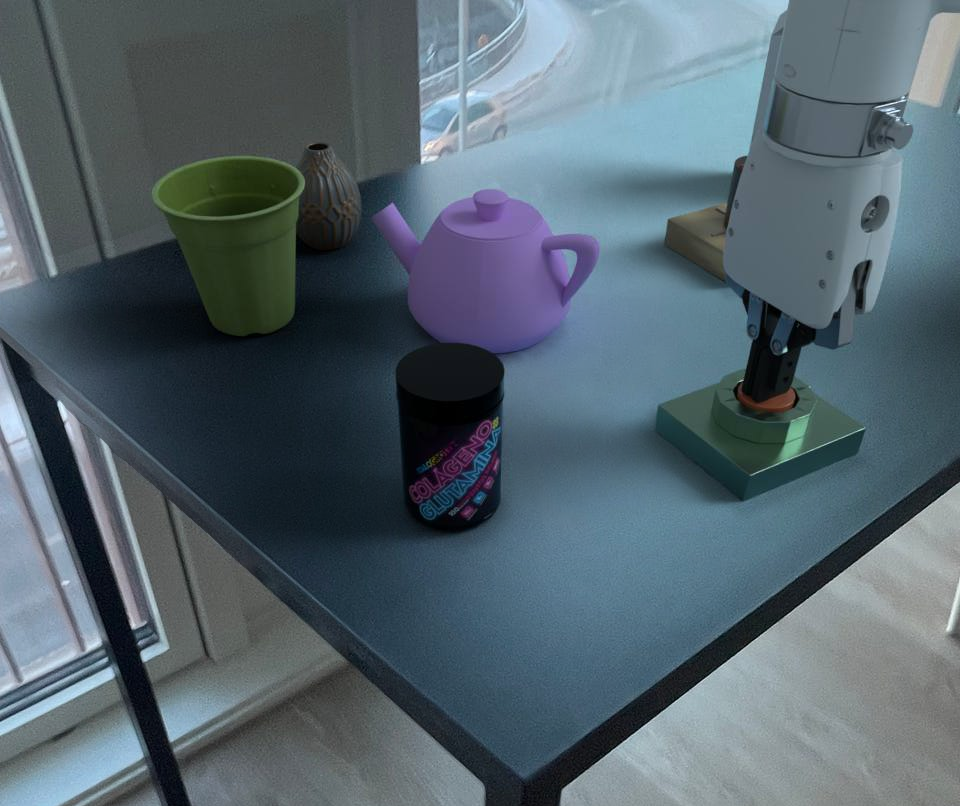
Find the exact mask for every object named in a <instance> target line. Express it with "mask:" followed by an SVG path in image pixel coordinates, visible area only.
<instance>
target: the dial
mask: <svg viewBox="0 0 960 806" xmlns="http://www.w3.org/2000/svg"><path fill="white" fill-rule="evenodd" d="M747 156H748V154H747V155H742V156H740V157H738V158H737V159H735V161H734V163H733V170H732V175H731V179H730V180H731V181H730V185H729V191H728V192H729V193H728V196H727V202H726V203H727V207H726V213H725V218H724V225H725V227H726V228H727V227H728V223H729V218H730V214H731V210H732V206H733V202H734V198H735V194H736V191H737V187H738V184H739V180H740V177H741V174H742V171H743V167H744V164H745V161H746V159H747Z"/></svg>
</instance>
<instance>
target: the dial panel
mask: <svg viewBox="0 0 960 806" xmlns="http://www.w3.org/2000/svg"><path fill="white" fill-rule="evenodd" d="M726 207H727V202H723V203H720V204H716V205H713V206H709V207H705V208H702V209H698V210H694V211H692V212H688V213H684V214H680V215H676V216H674V217H670V218H667V222H666V230H665V237H664V242H663V243H664V245H665V246H666V247H667V248H670V249H671V250H673V251H674V252H676V253H677V254H679V255H681V256H683V257H684V258H686V259H687V260H689V261H690V262H692V263H693V264H695V265H697V266H699V267H700V268H702V269H703V270H705V271H707V272H708V273H710V274H712V275H713V276H715V277H716V278H717V279H720V280H721V281H723V282H724V283H726V274H727V273H726V271H725V269H724V267H723V252H724V244H725V238H726V232H727V228H726V227H725V225H724V218H725V213H726Z"/></svg>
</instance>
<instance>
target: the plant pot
mask: <svg viewBox="0 0 960 806" xmlns="http://www.w3.org/2000/svg"><path fill="white" fill-rule="evenodd" d="M295 167H296V166H293V165H291V164H290V163H287V162H286V161H285V162H284V161H281V160H278V159H275V158H271V157H265V156H255V155H231V156H221V157H213V158H208V159H202V160H198V161H194V162H192V163H189V164H184V165H182V166H180V167H178V168H175V169H173V170H171V171H169V172H167V173H166V174H165V175H164V176H162V177H161V178H159V179H158V180H157V181H156V183H155V184H154V185H153V187H152V189H151V191H150V192H151V193H150V196H151V200H152V202H153V204H154V205H155V206H156V208H157V209H159V211H161V212H162V213H163V214H164V217H165V219H166V222H167V224H168V226H169V229H170V230H171V233H172V234H173V235H174V236H175V237H176V240H177V241H178V244H179V246H180V249H181V252H182V254H183V256H184V259H185V261H186V264H187V266H188V269H189V272H190V273H191V276H192V278H193V282H194V284H195V286H196V289H197V292H198V294H199V296H200V299H201V301H202V304H203V307H204V309H205V311H206V314H207V316H208V318H209V321H210V323H211V325H212V326H213V327H214V329H216V330H218V331H220V332H221V333H224V334H225V335H226V334H227V335H230V336H236V337H247V336H249V335H251V334H260V335H261V334H262V335H267V334H271V333H274V332H276V331H279V330H280V329H282V328H284V327H285V326H286V325H288V324H289V323H290V322H291V321H292V319H293V318H294V315H295V310H296V253H297V252H296V249H297V247H296V245H297V241H296V240H297V237H296V236H297V234H296V222H297V219H298V211H299V196H300V195H301V194H302V192H303V190H304V187H305V180H304V177H303V175H302V174H301V172H300V171H299V170H298V169H296V168H295Z"/></svg>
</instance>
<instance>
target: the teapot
mask: <svg viewBox="0 0 960 806" xmlns="http://www.w3.org/2000/svg"><path fill="white" fill-rule="evenodd" d="M370 219H371V221H372V222H373V224H374V225H375V227H376V229H377V230H378V231H379V233H380V234H381V236H382V237H383V239H384V240H385V242H386V244H387V245H388V246H389V247H390V250H391V251H392V252H393V253H394V255H395V256H396V258H397V259H398V261H399V263H400V264H401V265H402V267H403V268H404V270H405V271H406V272H407V274H408V276H409V277H408V283H407V305H408V309H409V311H410V313H411V315H412V318H413V319H414V320H415V321H416V322H417V323H418V324H419V326H420V327H421V328H422V329H423V330H424V331H425V332H426V333H428V334H429V336H431V337H432V338H433V339H435V340H436V341H437V342H438V343H464V344H470V345H474V346H478V347H481V348H483V349H486V350H488V351H490V352H491V353H493V354H507V353H513V352H517V351H522V350H525V349H528V348H531V347H533V346H534V345H537V344H538V343H540V342H542V341H543V340H545V339H546V338H547V337H548V336H549V335H551V334H552V333H553V332H554V331H556V329H557V328H558V327H559V326H560V324H561V323H562V322H563V321H564V320H565V318H566V317H567V315H568V313H569V311H570V308H571V306H572V304H571V303H572V301H571V300H572V298H573V297H574V296H575V295H576V294H577V293H578V291H579V290H580V289H581V288H582V287H583V285H584V284H585V283H586V282H587V280H588V279H589V277H590V276H591V275H592V273H593V272H594V270H595V268H596V265H597V262H598V260H599V256H600V251H601V246H600V243H599V242H598V240H597V238H595V237H594V236H592V235H589V234H584V233H566V234H564V233H563V234H557V235H554V233H553V231H552V229H551V227H550V226H549V224H548V223H547V221H546V219H545V218H544V217H543V215H542V213H540V211H539V210H538V209H537V208H535V207H534V206H533V205H532V204H529V202H528V203H527V202H526V201H523V200H520V199H517V198H513V197H509V195H508V193H507V192H505V191H502V190H499V189H496V188H495V189H494V188H487V189H486V188H485V189H481V190H478V191H476V192H474V193H473V195H472V196H470V197H466V198H461V199H460V200H456V201H454V202H452V203H450V204H449V205H447V206H446V207H445V208H443V209H442V211H441V212H440V213H439V214H438V215H437V217H436V218H435V220H434V221H433V222H432V224H431V225H430V228H429V229H428V231H427V232H426V235H425V236H424V238H423V239H422V241H421V243H420V241H419V240H418V239H417V237H416V236H415V234H414V232H413V230H412V229H411V228H410V226H409V224H407V222H406V221H405V219H404V218H403V216H402V215H401V212H399V210H398V208H397V206H396V205H395V204H394V203H393V202H391V203H390V204H389V205H387V206H386V207H384V208H383V209H382V210H380V211H378V212H377V213H375V214H374V215H373V216H371V218H370ZM562 250H568V251H572V252H574V253H575V254H576V263H575V266H574V269H573V271H572V275H571V276H570V272H569V268H568V263H567V261H566V258H565V255H564V253H563V251H562Z"/></svg>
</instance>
